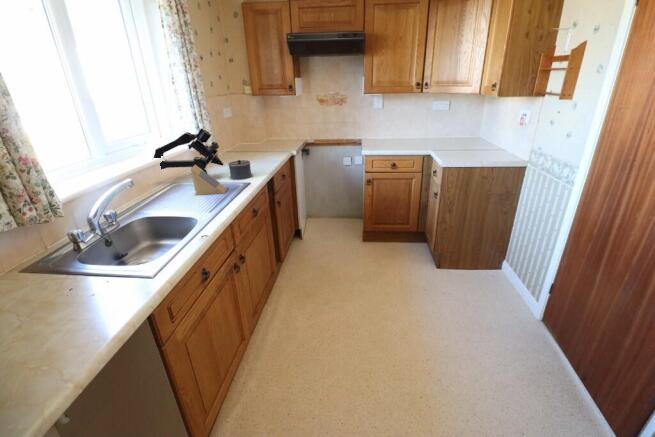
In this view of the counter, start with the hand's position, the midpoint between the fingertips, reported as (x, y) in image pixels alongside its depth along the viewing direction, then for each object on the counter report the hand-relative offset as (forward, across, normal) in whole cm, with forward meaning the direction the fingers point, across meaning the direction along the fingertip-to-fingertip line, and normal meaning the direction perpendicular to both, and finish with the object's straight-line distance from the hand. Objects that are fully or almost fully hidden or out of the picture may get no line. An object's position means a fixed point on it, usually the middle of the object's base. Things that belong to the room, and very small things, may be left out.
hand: (223, 164), depth 201 cm
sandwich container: (+3, -26, +9) cm, 28 cm away
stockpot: (+13, 0, -1) cm, 13 cm away
